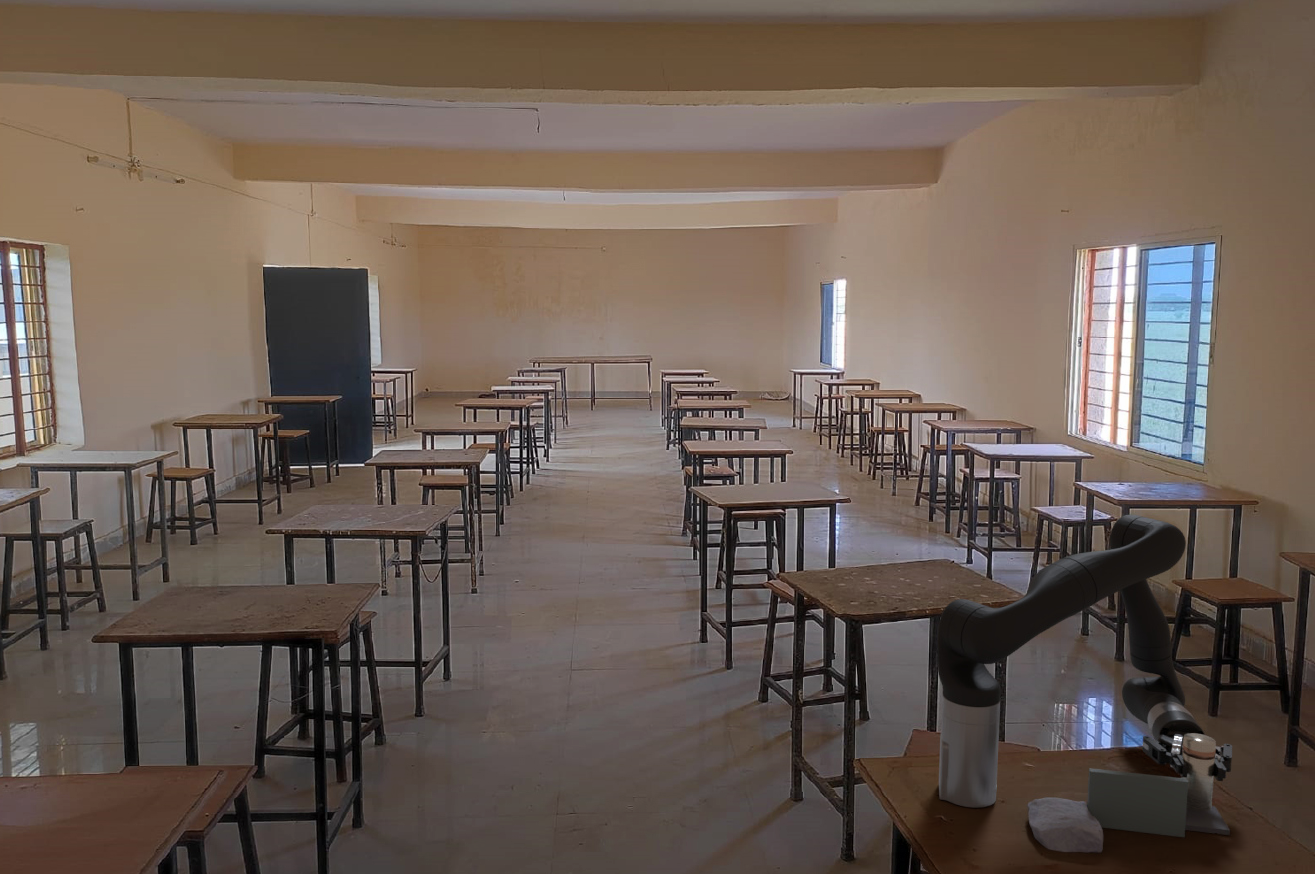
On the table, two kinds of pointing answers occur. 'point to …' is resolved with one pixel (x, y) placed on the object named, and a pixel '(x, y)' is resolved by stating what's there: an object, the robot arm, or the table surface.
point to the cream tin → (1199, 770)
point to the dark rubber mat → (1206, 821)
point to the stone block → (1065, 825)
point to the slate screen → (1138, 802)
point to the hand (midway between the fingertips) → (1202, 773)
